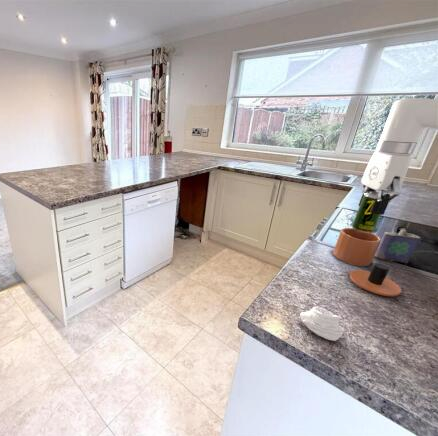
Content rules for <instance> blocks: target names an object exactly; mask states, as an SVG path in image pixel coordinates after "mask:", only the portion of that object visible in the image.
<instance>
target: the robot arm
mask: <svg viewBox="0 0 438 436" xmlns="http://www.w3.org/2000/svg"><path fill="white" fill-rule="evenodd" d="M424 129H427V130H437V131H438V98H428V97H407V98H400V99H398V100H396V101H395V102H394V103H393V104H392V106H391V109H390V111H389V114H388V117H387V119H386V122H385V125H384V127H383V131H382V132H381V136H380V139H379V141H378V143H377V146H376V149H375V151H374V153H373V154H372V156H371V157H370V159H369V161H368V163H367V166H366V168H365V170H364V172H363V175H362V177H361V180H360V183H361V184H362V185H363V187H362V188H363V189H362V194H361V198H360V200H359V203H358V207H360V204H361V201H362V199H363V196H364V194H365V193H366V191H376V192H378V197H377V200H375V201H374V203H373V206H372V208H371V211H370V213H371V214H379V215H381V216H382V215H384V214H385V212H386V210H387V207H388V206H389V203H391V202H392V200H394V199H395V198H396V197H398V196H400V195H401V188H402V186H403V183H404V181H405V179H406V177H407V174H408V170H409V167H410V163H411V160H412V156H413V154H414V152H415V150H416V147H417V145H418V142H419V141H420V138H421V136H422V133H423V131H424ZM383 193H385V195H384V196H383Z"/></svg>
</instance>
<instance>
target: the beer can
mask: <svg viewBox="0 0 438 436" xmlns="http://www.w3.org/2000/svg"><path fill="white" fill-rule="evenodd" d="M385 194H386V193H383V196H384V195H385ZM377 197H378V191H366V193H365V194H364V196H363V199H362V201H361V204H360V206H358V209H357V212H356V214H355V217H354V220H353V222H352V225H351V228H353V229H354V230H356V231H358V232H361V233H368V234H369V233H374V232H375V229H376V228H377V225H378V224H379V220H380V218H381V216H382V215H379V214H371V213H370V211H371V208H372V206H373V203H374V201H375V200H377Z"/></svg>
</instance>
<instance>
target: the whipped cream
mask: <svg viewBox="0 0 438 436" xmlns="http://www.w3.org/2000/svg"><path fill="white" fill-rule="evenodd" d="M299 316H300V319H301V321H302V323H303V324H304V325H305V327H307V328H308V329H309V330H310V332H312V333H314V334H315V335H317V336H319V337H321V338H324V339H325V340H328V341H332V342H333V341H334V342H336V341H337V340H339V339H340V338H341V337H342V336H343V334H344V332H346V329H345V328H344V327H342V325H341V319H342V316H340V315H338V314H337V315H335V314H334V313H333V312H331V311H330V310H327V309H325V308H323V307H320V306H314V307H312V308H311V309H310V310H308V311H302V312H300V313H299Z"/></svg>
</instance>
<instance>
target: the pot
mask: <svg viewBox="0 0 438 436" xmlns="http://www.w3.org/2000/svg"><path fill="white" fill-rule="evenodd" d="M381 240H382V237H380V236H379V235H377V234H376V233H374V232H372V233H369V234H368V233H361V232H358V231H356V230H354V229H353V228H352V227H343V228H341V229H340V232H339V234H338V238H337V240H336V243H335V246H334V249H333V256H334V257H335V258H336V259H338V260H340V261H342V262H344V263H346V264H350V265H354V266H358V267H369V266H370V265H371V264H372V263H373V261H374V258H375V257H374V256H375V254H376V251H377V249H378V247H379V244H380V242H381Z"/></svg>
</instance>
